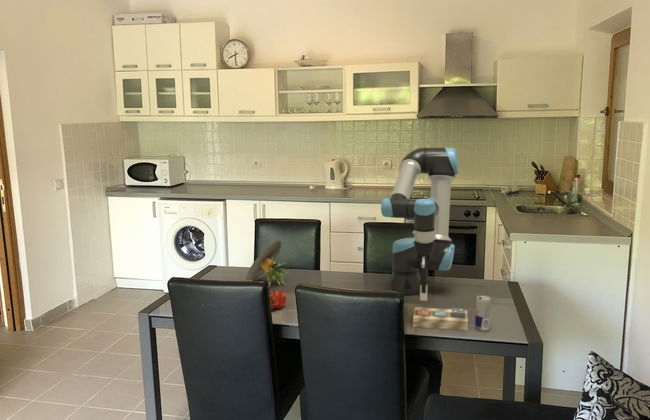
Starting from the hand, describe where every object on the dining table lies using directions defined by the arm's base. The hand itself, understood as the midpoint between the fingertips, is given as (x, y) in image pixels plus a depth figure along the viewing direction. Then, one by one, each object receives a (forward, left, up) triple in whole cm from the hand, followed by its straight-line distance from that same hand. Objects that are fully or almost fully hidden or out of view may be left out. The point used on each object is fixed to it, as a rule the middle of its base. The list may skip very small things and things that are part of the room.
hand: (423, 299), depth 206 cm
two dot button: (+11, +7, -6) cm, 14 cm away
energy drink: (+20, +10, -9) cm, 24 cm away
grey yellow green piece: (-78, -15, -9) cm, 80 cm away
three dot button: (+6, +3, -7) cm, 10 cm away
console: (+6, +3, -9) cm, 11 cm away
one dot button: (0, -1, -7) cm, 7 cm away
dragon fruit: (-52, -31, -9) cm, 61 cm away
